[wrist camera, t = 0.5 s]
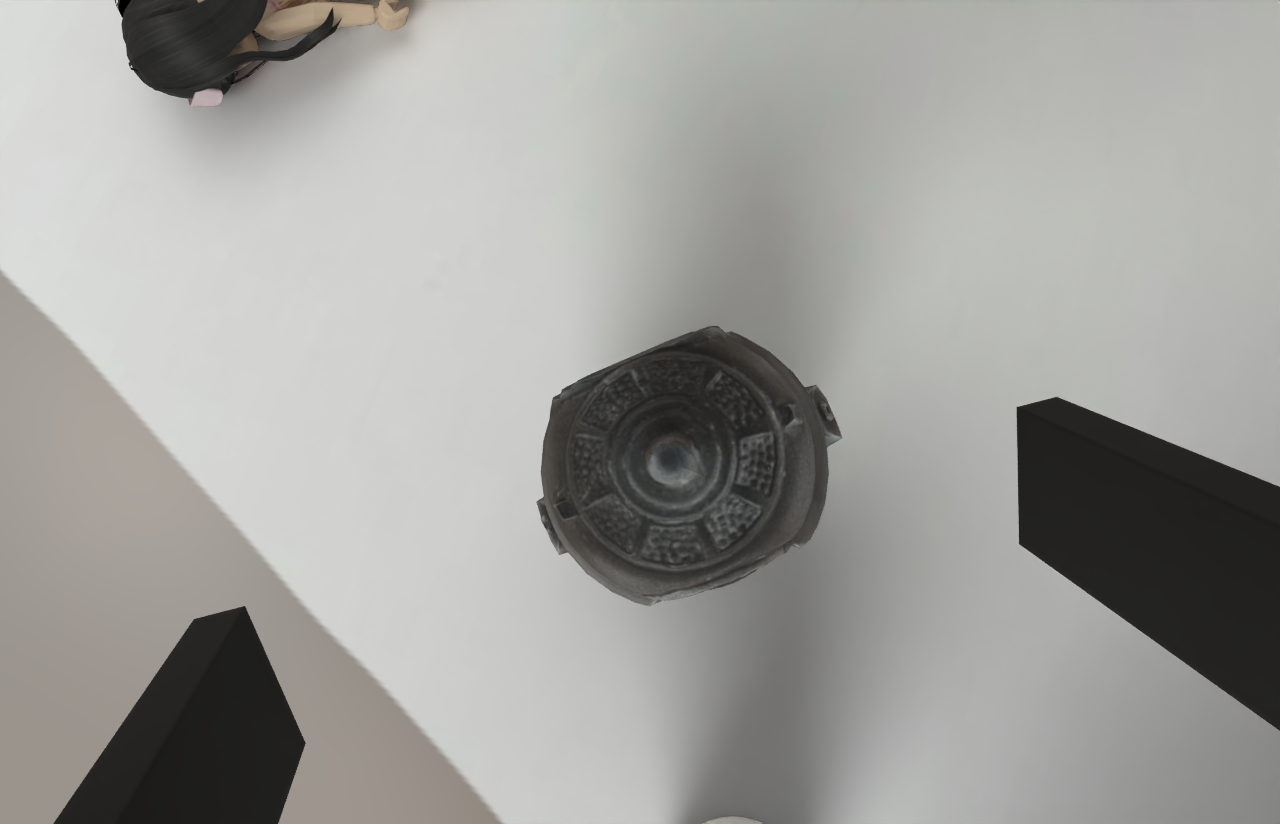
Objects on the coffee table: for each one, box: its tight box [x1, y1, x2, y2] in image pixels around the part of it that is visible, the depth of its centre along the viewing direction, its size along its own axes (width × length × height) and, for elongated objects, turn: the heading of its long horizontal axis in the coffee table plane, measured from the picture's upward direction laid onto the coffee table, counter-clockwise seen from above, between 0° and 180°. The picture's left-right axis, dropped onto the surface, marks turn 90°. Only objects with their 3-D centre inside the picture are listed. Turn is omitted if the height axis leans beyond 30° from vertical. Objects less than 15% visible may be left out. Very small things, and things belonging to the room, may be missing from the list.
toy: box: [537, 326, 842, 606], centre depth 21 cm, size 8×6×15 cm
